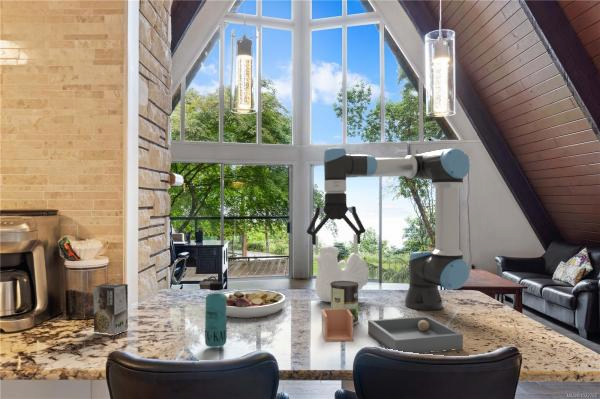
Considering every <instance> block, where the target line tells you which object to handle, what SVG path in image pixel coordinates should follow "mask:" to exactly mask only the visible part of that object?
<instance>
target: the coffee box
mask: <svg viewBox="0 0 600 399" xmlns="http://www.w3.org/2000/svg"><path fill="white" fill-rule="evenodd" d="M128 286H129V284H128V283H116V282H115V283H114V282H105V283H101V284H98V285H95V286H93V290H92V291H93V333H94V332H99V333H108V334H114V335H115V334H117V333H120V332H122V331H125V330H127V329H128V330H129V323H128V321H129V318H128V317H129V311H128V310H129V308H128V307H129V306H128V305H129V304H128V303H129V302H128V301H129V300H128V297H129V296H128V295H129V294H128V293H129V289H128Z"/></svg>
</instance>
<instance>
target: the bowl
mask: <svg viewBox="0 0 600 399" xmlns="http://www.w3.org/2000/svg"><path fill="white" fill-rule="evenodd" d="M222 293H223V294H225V295H226V297H227V299H226V316H227V317H228V316H229V318H230V317H231V318H235V317H237V318H236V319H239V318H241V319H250V318H253V317H255V318H261V317H266V316H270V315H274V314H277V313H278V312H279V311H280V310H281V309H283V307H284V305H285V303H286V296H285V295H284V294H282V293H280V292H277V291H272V290H266V289H265V290H264V289H239V290H232V291H225V292H222Z"/></svg>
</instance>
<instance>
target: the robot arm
mask: <svg viewBox="0 0 600 399" xmlns="http://www.w3.org/2000/svg"><path fill="white" fill-rule="evenodd" d="M323 155H324V156H323V164H324V165H323V169H324V170H323V171H324V181H323V182H324V192H325V194H324V206H323V207H320V206H316V207H315V213H314V215H313V217H312V219H311V221H310V224H309V226H308V228H307V230H306V233H307V234H308V235H311V244H312V245H313V246H314V247H315V248H314V249H315V252H314V254H315V255H316V256H319V235H317V234H318V233H319V231H321V229H322V228H323V226H324V225H325V224H326V223H328V221H329V219H330V220H331V221H332V220H333V221H334V220H342V219H343V220H344V222H346V224H347V225H348V226H349V228H350V229H351V230H352V231H353V232H354V233H355V234H353V253H355V254H358V245H360V244H361V234H365V233H366V229H365V226H364V225H363V223H362V221H361V219H360V217H359V215H358V213H357V208H356V206H354V205H353V206H349V207H348V206H347V193H346V191H347V178H375V177H376V178H378V177H379V178H380V177H405V178H407V179H419V180H429V181H431V185H432V186H433V187H434V189H435V216H434V217H435V221H434V222H435V224H434V225H435V226H434V227H435V235H434V236H435V238H434V239H435V248H434V249H433V250H426V251H413V252H410V254H409V256H408V259H409V260H408V272H409V273H408V276H409V282H408V283H409V284H408V289H407V292H406V296H405V300H404V305H405V306H406V307H407V308H411V309H413V310H420V311H437V310H441V309H443V300H442V296H441V293H440V291H439V287H443V288H445V289H451V290H458V289H460V288H462V287H463V286H464V285H465V284H466V283H467V282H468V280H469V278H470V272H471V271H470V266H469V265H468V262H466V261H465V260H464V253H463V252H462V251H461V250H460V247H459V246H460V245H459V244H460V243H459V242H460V241H459V240H460V236H459V234H460V230H459V229H460V226H459V221H460V220H459V218H460V216H459V215H460V214H459V213H460V212H459V211H460V210H459V206H460V204H459V203H460V202H459V199H460V197H459V196H460V194H459V190H460V189H459V188H460V187H461V186H462V185H463V184H464V178H465V177H466V176H467V175H468V173H469V172H470V168H471V164H470V160H469V158H468V155H467V154H466V153H465V152H464V151H463V150H461V149H459V148H456V147H455V148H445V149H440V150H439V149H438V150H433V151H428V152H423V153H419V154H413V155H412V154H409V155H406V156H405V157H375V156H374V155H371V154H348V153H347V150H346V149H345V147H329V148H325V150H324V154H323ZM322 212H324V214H325V215H324V217H323V218H322V220H321V221H320V222H319V223H318V224H317V226H316V227H315V228H314V226H315V224H316V222H317V220H318V218H319V216H320V214H322ZM348 212H349V213H351V215H352V217H353V219H354V221H355V223H356V225H357V227H358V228H357V227H356V225H355V224H354V223H353V221H351V220H350V219H349V217H348V216H347V215H346V214H347V213H348Z"/></svg>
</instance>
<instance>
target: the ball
mask: <svg viewBox="0 0 600 399" xmlns="http://www.w3.org/2000/svg"><path fill="white" fill-rule="evenodd" d="M418 328H419V329H420V330H421V331H427V330H428V329H429V323H428V322H427V321H425V320H421V321H420V322H419V323H418Z"/></svg>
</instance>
